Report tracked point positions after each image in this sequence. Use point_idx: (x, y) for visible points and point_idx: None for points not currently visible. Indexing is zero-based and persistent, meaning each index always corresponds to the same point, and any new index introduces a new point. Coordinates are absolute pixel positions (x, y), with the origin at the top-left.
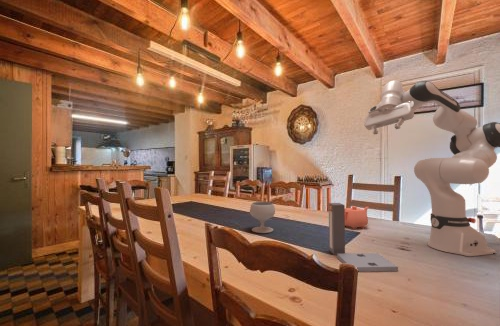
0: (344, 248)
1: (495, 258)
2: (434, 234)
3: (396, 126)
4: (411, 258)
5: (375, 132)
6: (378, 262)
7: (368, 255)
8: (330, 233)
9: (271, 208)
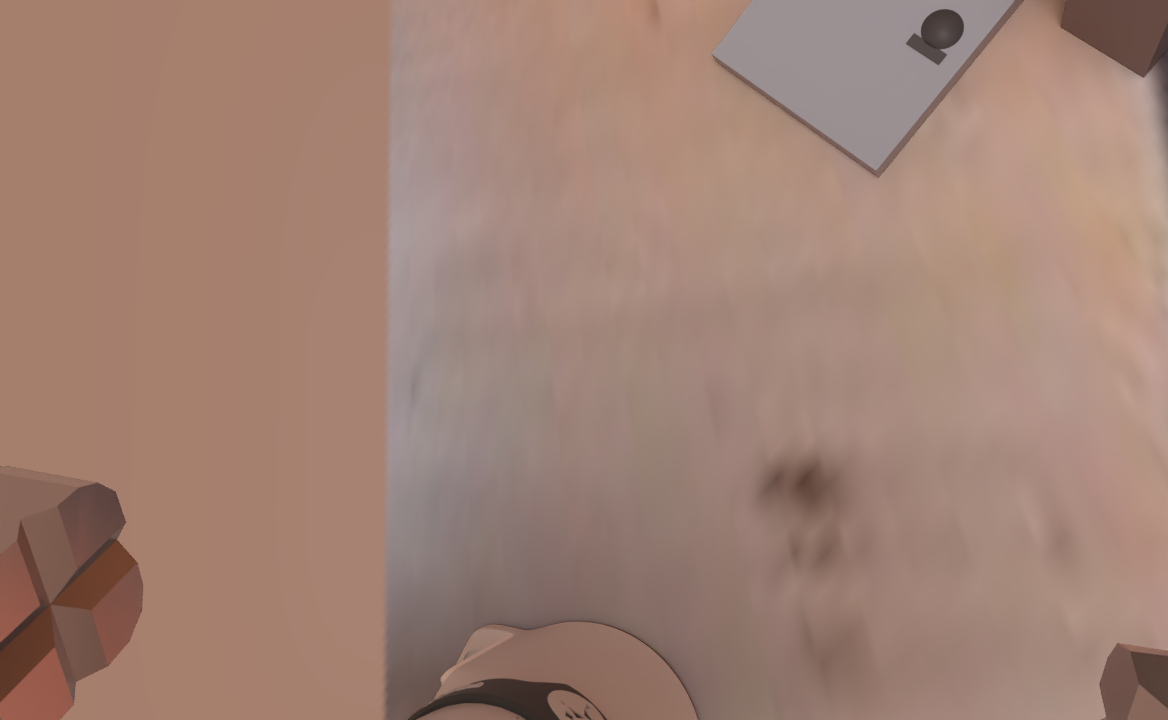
0: (1066, 5)
1: (384, 706)
2: (619, 695)
3: (16, 471)
4: (715, 326)
5: (1156, 653)
6: (809, 19)
7: (900, 75)
8: None
9: None
